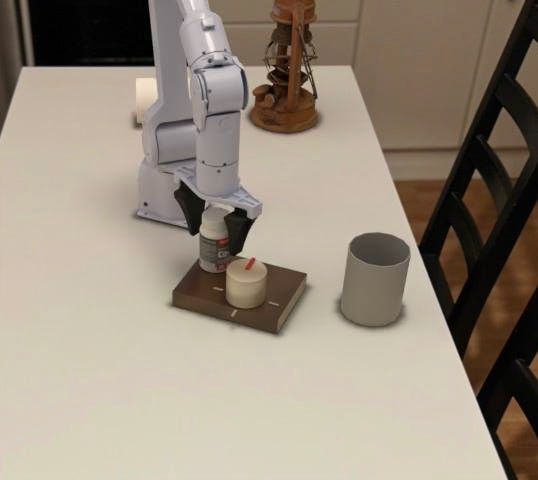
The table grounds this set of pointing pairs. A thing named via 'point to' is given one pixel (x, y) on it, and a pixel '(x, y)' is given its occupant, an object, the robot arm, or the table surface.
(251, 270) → the rotary knob
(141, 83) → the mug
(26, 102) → the table surface
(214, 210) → the pill bottle
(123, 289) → the table surface
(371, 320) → the cup
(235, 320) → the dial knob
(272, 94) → the lantern
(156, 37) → the robot arm
